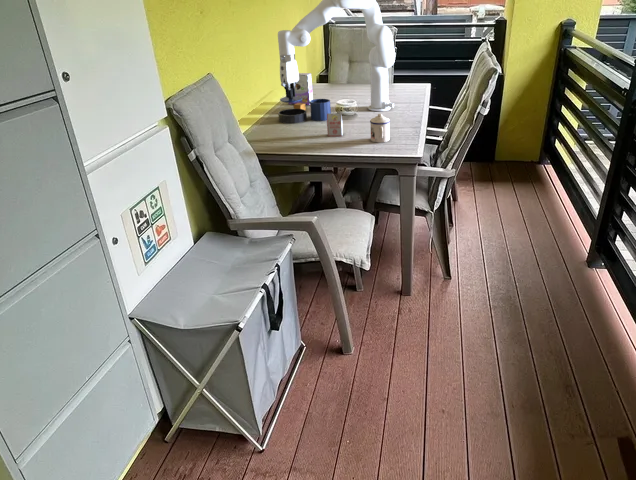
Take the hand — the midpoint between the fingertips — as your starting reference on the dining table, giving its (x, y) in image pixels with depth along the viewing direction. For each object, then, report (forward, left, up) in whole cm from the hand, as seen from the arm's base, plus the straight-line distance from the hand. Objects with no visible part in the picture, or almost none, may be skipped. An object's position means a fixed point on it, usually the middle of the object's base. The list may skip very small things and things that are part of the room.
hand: (290, 96), depth 274 cm
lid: (0, 0, -2) cm, 2 cm away
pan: (0, 0, -12) cm, 12 cm away
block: (+6, -15, -12) cm, 20 cm away
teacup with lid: (-60, +13, -12) cm, 63 cm away
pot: (-12, -9, -12) cm, 19 cm away
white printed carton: (-36, +14, -12) cm, 41 cm away
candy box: (+18, -32, -12) cm, 38 cm away
